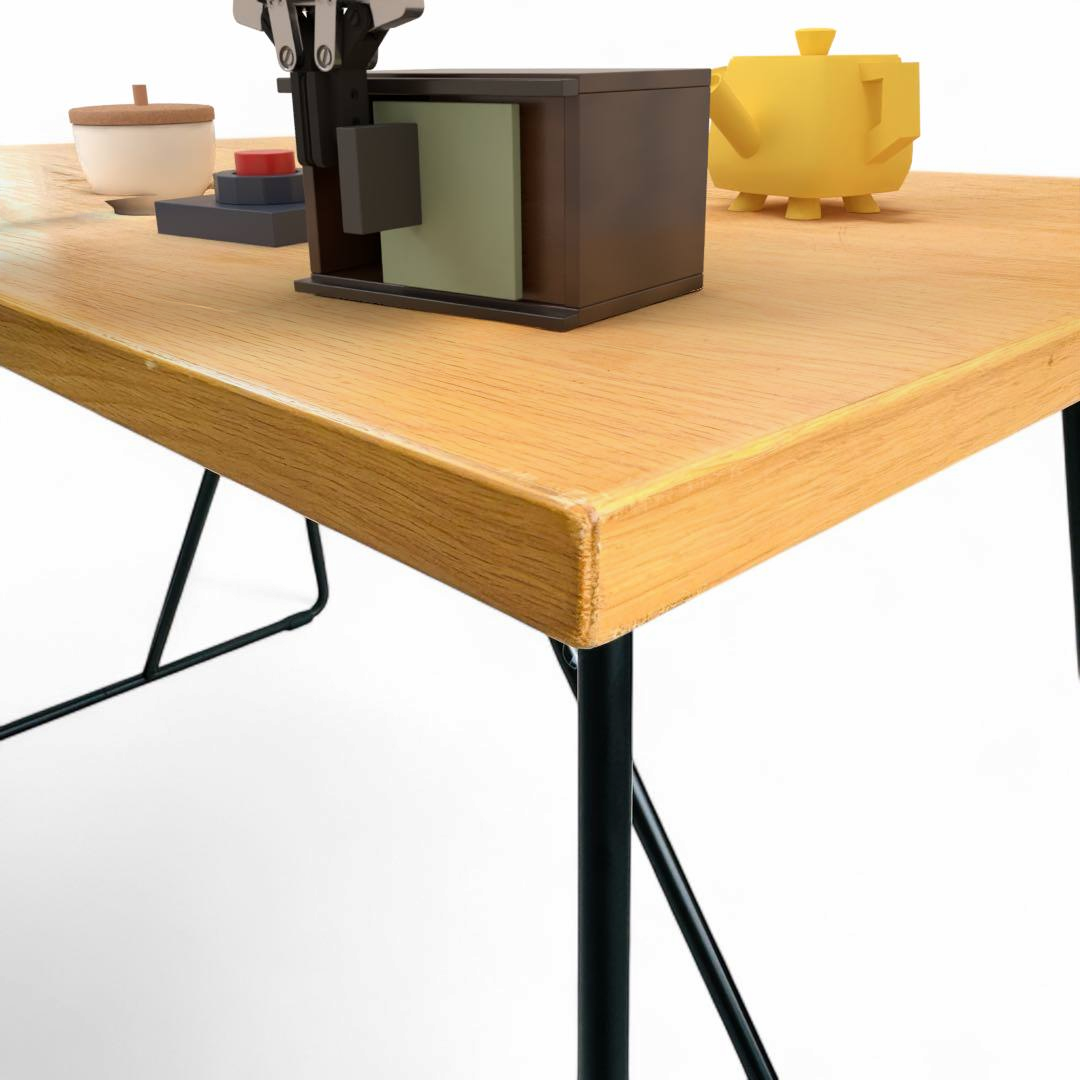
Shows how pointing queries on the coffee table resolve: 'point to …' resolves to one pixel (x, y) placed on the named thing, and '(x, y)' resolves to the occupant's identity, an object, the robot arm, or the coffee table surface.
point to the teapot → (813, 126)
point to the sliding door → (438, 194)
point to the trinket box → (145, 150)
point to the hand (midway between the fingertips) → (335, 163)
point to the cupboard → (555, 193)
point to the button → (265, 162)
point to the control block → (241, 211)
